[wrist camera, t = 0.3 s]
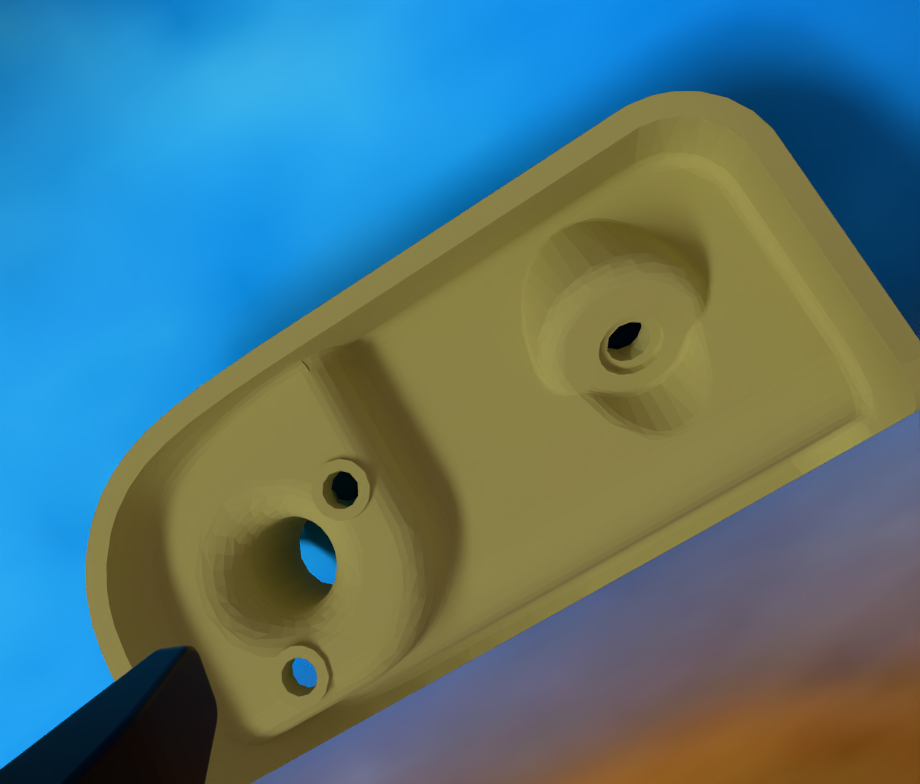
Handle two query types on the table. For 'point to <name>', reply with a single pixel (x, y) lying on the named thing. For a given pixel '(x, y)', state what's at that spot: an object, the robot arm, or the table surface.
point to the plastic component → (498, 425)
